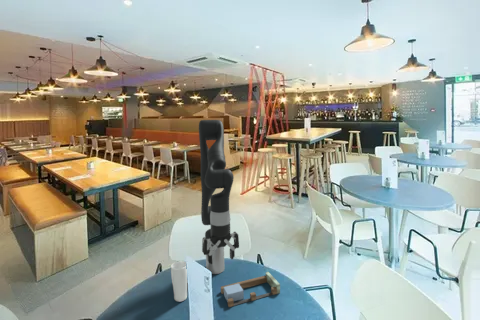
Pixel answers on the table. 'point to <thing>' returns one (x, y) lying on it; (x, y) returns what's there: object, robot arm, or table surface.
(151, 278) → the table surface
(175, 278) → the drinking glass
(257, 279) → the lane
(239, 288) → the brick
